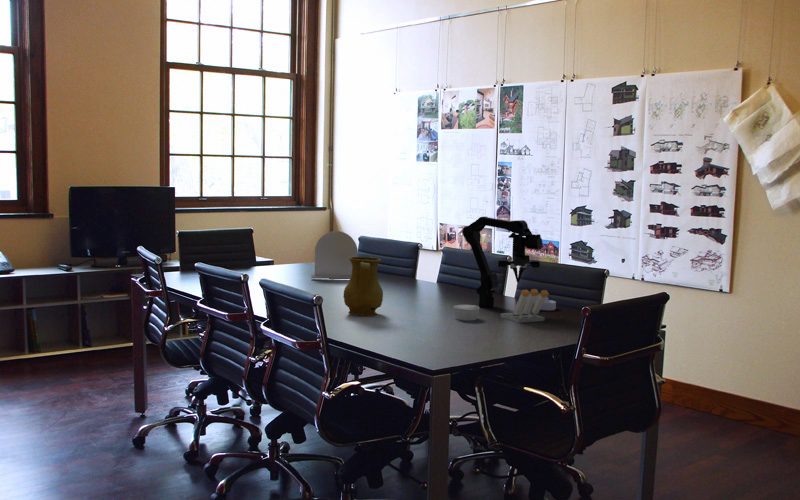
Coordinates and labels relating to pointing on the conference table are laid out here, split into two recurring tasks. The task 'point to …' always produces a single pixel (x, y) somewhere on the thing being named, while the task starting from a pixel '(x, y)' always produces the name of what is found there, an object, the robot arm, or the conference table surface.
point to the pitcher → (363, 287)
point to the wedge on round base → (547, 304)
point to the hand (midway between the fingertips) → (517, 282)
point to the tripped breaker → (539, 302)
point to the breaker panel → (522, 317)
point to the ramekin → (466, 312)
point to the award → (334, 256)
